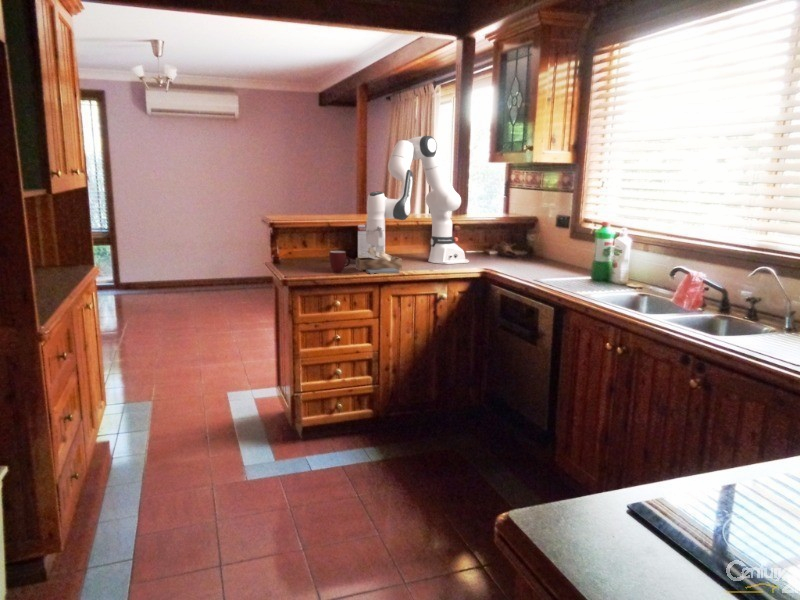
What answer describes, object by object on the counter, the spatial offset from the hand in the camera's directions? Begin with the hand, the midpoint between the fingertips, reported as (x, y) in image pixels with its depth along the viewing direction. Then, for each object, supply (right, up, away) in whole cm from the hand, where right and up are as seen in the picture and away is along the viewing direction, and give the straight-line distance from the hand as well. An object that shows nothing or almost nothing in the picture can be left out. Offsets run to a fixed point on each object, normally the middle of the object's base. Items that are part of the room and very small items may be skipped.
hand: (375, 254), depth 300 cm
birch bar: (+2, -1, +1) cm, 2 cm away
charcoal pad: (+3, -9, +3) cm, 10 cm away
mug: (-17, -9, +2) cm, 20 cm away
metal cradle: (+2, -2, +11) cm, 12 cm away
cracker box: (-3, -3, +28) cm, 29 cm away
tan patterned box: (+1, -7, +12) cm, 14 cm away
